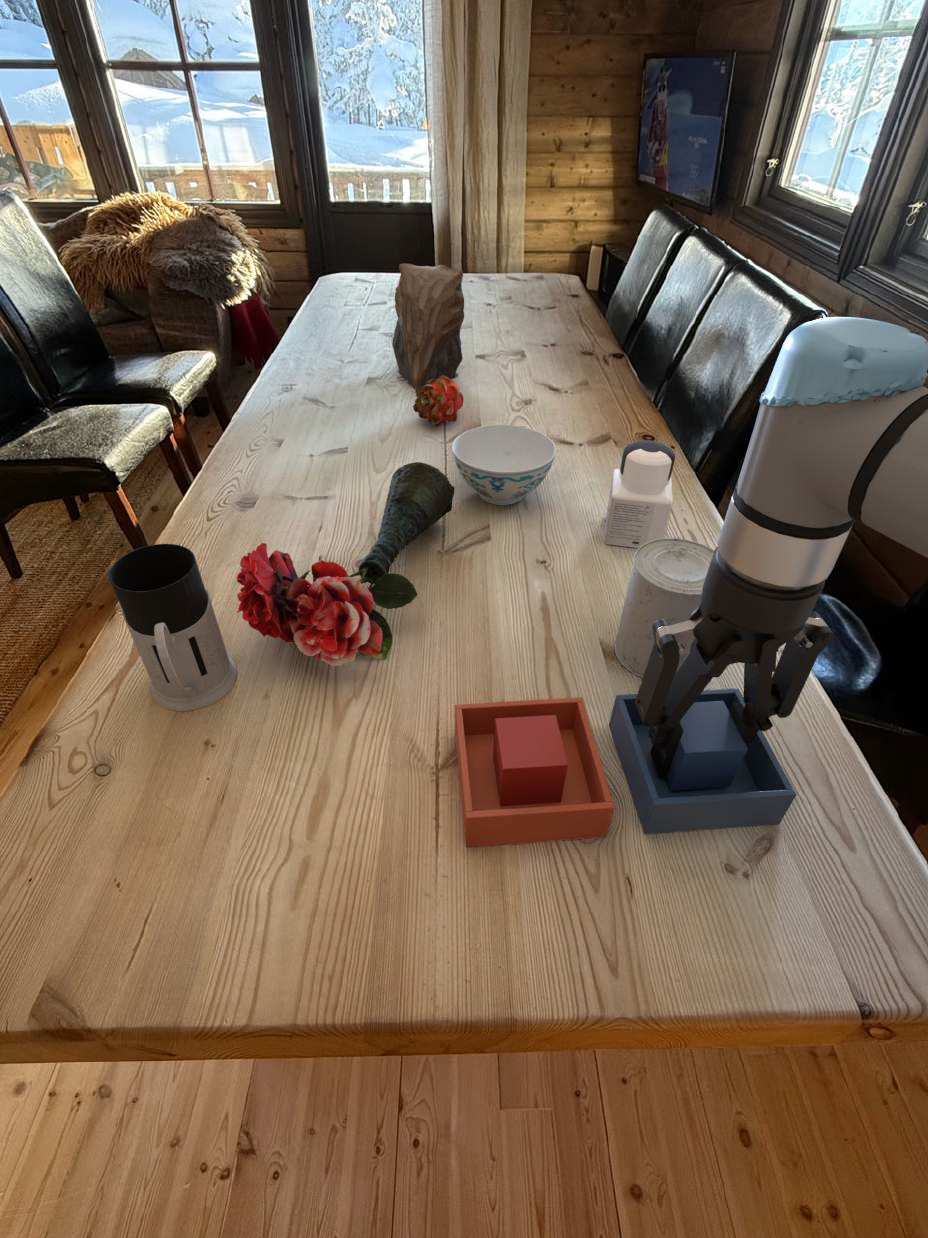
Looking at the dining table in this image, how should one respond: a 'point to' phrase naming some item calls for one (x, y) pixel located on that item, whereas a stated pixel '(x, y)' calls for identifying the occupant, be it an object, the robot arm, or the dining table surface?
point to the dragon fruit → (438, 400)
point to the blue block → (706, 749)
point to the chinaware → (503, 461)
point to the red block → (529, 760)
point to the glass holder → (173, 626)
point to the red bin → (569, 819)
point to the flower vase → (345, 579)
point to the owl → (428, 323)
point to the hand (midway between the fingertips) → (691, 762)
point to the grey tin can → (660, 596)
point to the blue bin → (747, 801)
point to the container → (640, 495)
